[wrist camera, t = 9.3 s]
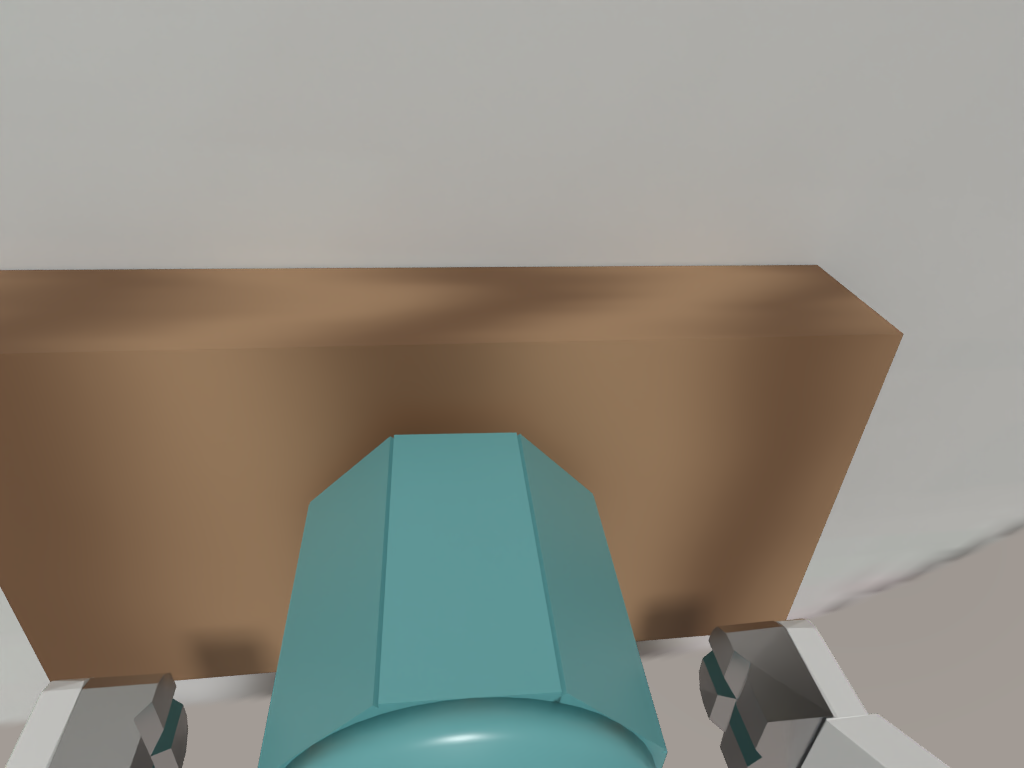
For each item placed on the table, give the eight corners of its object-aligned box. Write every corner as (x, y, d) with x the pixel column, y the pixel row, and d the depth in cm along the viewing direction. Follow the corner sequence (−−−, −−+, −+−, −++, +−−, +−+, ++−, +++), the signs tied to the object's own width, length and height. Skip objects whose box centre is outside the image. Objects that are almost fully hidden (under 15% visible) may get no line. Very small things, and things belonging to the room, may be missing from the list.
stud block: (817, 265, 14) (1167, 545, 8) (732, 537, 19) (911, 864, 12) (-14, 270, 12) (-506, 668, 6) (106, 577, 17) (-90, 1005, 10)
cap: (604, 430, 12) (706, 726, 7) (572, 618, 14) (633, 909, 10) (298, 436, 11) (221, 760, 7) (327, 631, 14) (285, 945, 10)
